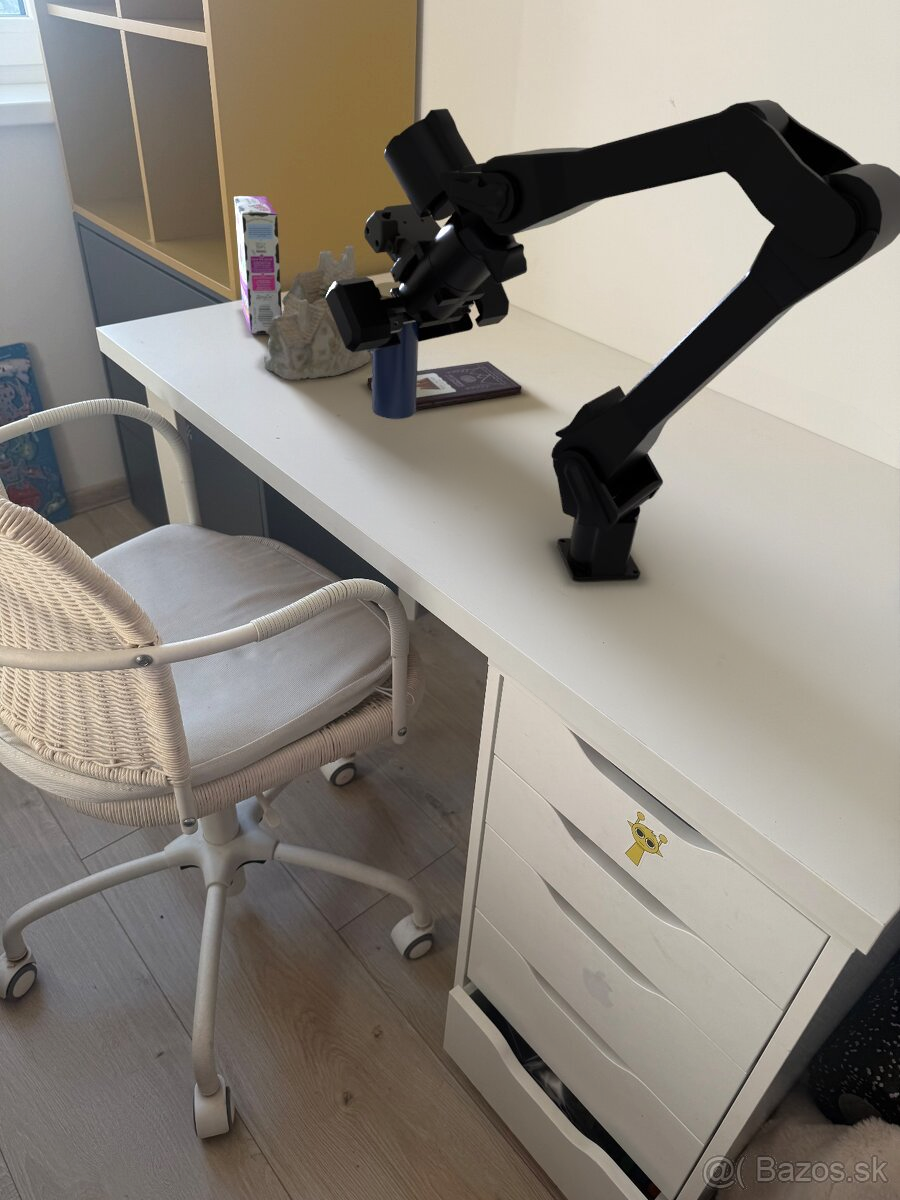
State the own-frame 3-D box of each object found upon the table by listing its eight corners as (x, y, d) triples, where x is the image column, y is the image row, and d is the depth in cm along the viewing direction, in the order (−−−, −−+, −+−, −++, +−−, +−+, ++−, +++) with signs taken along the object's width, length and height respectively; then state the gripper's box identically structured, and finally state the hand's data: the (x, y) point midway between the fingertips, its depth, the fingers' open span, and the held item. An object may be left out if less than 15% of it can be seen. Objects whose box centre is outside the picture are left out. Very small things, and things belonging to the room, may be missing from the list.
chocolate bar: (521, 386, 108) (396, 405, 101) (520, 393, 109) (395, 412, 102) (488, 361, 115) (367, 377, 107) (487, 367, 115) (367, 384, 108)
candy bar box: (285, 334, 121) (278, 213, 111) (250, 335, 120) (240, 213, 110) (274, 309, 129) (267, 194, 119) (242, 310, 128) (231, 194, 118)
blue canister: (419, 419, 90) (423, 297, 82) (373, 420, 89) (373, 297, 81) (413, 400, 93) (417, 282, 86) (369, 400, 93) (369, 281, 85)
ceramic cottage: (333, 325, 124) (326, 220, 114) (390, 368, 114) (388, 257, 104) (235, 348, 117) (219, 238, 107) (286, 396, 107) (274, 279, 97)
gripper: (502, 172, 79) (430, 263, 93) (332, 186, 70) (279, 285, 83) (547, 280, 79) (468, 354, 92) (382, 308, 70) (321, 387, 83)
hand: (388, 343), depth 88 cm, fingers closed on blue canister, 5 cm apart
